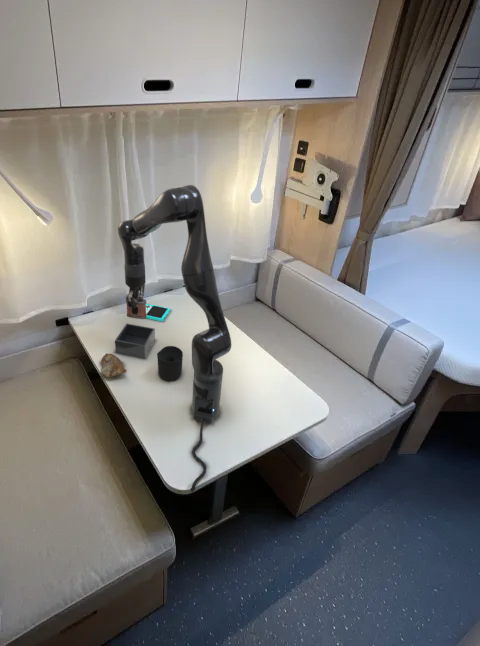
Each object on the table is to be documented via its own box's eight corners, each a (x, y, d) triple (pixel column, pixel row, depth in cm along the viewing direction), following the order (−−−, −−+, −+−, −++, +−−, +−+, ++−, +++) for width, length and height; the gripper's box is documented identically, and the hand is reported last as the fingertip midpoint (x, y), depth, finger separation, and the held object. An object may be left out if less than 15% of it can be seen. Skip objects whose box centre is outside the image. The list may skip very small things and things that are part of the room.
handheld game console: (139, 303, 193) (139, 301, 192) (170, 310, 188) (170, 307, 187) (130, 314, 185) (130, 312, 184) (162, 321, 180) (162, 319, 180)
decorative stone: (106, 375, 143) (92, 355, 155) (108, 384, 145) (94, 365, 157) (130, 366, 147) (115, 348, 159) (132, 375, 149) (116, 357, 161)
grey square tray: (144, 358, 159) (144, 346, 155) (115, 352, 162) (114, 340, 158) (155, 340, 169) (154, 328, 165) (127, 335, 172) (126, 323, 168)
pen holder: (184, 380, 148) (185, 360, 143) (160, 384, 146) (159, 363, 141) (179, 364, 156) (179, 344, 150) (155, 367, 154) (155, 347, 148)
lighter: (147, 315, 158) (147, 293, 152) (145, 319, 155) (144, 298, 149) (128, 312, 159) (127, 290, 154) (125, 317, 156) (124, 295, 151)
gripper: (132, 262, 153) (134, 300, 162) (117, 279, 141) (120, 319, 151) (151, 265, 151) (152, 303, 160) (137, 282, 140) (139, 322, 149)
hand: (136, 310), depth 156 cm, fingers closed on lighter, 3 cm apart
